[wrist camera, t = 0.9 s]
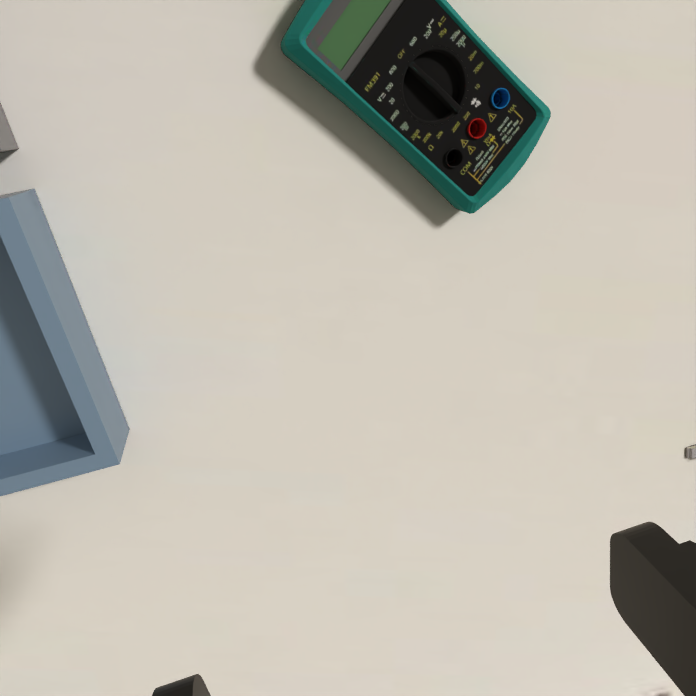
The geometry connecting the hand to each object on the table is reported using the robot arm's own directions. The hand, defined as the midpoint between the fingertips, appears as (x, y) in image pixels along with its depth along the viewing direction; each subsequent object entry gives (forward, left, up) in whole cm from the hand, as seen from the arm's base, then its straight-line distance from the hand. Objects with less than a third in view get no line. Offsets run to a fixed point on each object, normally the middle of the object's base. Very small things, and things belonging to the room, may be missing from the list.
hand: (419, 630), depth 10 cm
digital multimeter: (-9, +10, -26) cm, 30 cm away
